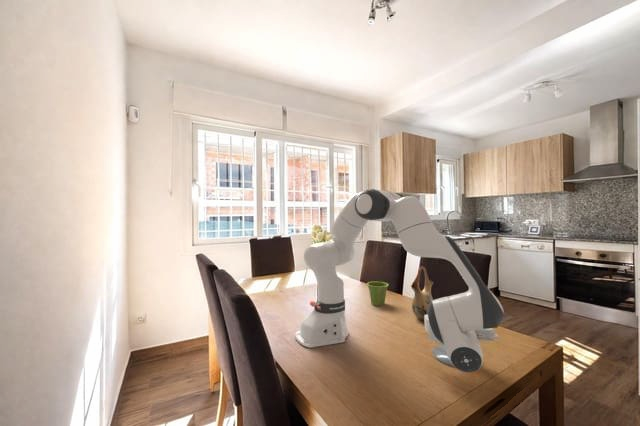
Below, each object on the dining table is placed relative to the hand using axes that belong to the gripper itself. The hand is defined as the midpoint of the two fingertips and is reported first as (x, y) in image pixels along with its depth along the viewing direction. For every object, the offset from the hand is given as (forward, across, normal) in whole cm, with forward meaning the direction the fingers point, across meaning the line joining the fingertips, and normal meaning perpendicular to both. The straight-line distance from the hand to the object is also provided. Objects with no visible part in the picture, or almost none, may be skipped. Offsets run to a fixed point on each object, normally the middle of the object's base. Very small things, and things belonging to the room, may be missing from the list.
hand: (455, 317), depth 92 cm
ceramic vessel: (+31, +11, +13) cm, 35 cm away
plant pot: (+44, +35, +13) cm, 58 cm away
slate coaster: (-1, 0, +13) cm, 13 cm away
